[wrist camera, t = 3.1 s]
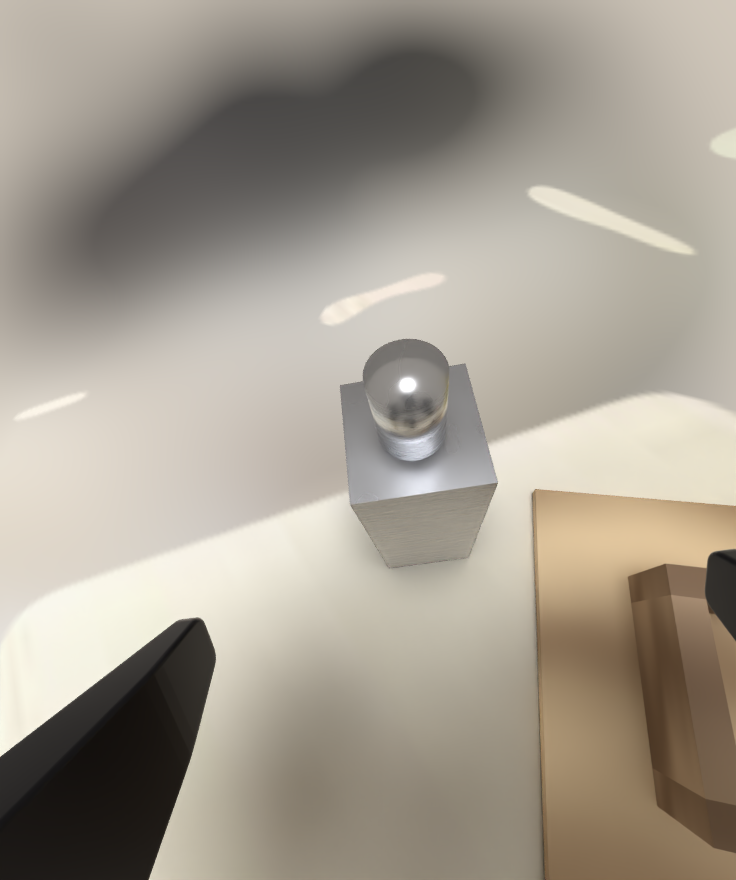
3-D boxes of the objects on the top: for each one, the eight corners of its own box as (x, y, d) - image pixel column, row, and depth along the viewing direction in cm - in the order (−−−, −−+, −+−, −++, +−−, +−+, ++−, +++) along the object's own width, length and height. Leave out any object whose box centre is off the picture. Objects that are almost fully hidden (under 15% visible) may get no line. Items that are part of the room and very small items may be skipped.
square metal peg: (468, 557, 18) (517, 434, 7) (389, 568, 18) (326, 464, 8) (452, 482, 20) (472, 294, 9) (380, 493, 20) (317, 324, 9)
